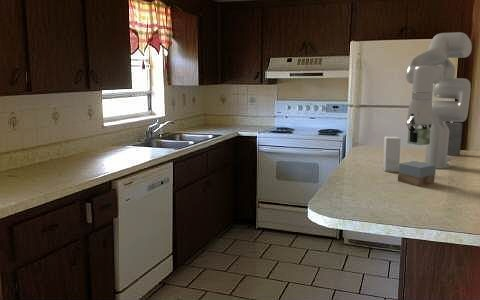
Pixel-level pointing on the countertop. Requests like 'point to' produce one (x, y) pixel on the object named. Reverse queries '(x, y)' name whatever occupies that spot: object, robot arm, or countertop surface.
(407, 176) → the slab bottom
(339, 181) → the countertop surface
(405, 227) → the countertop surface
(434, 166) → the slab top
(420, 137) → the sage block
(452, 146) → the dark grey upright block
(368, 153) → the countertop surface
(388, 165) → the skincare box
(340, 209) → the countertop surface
